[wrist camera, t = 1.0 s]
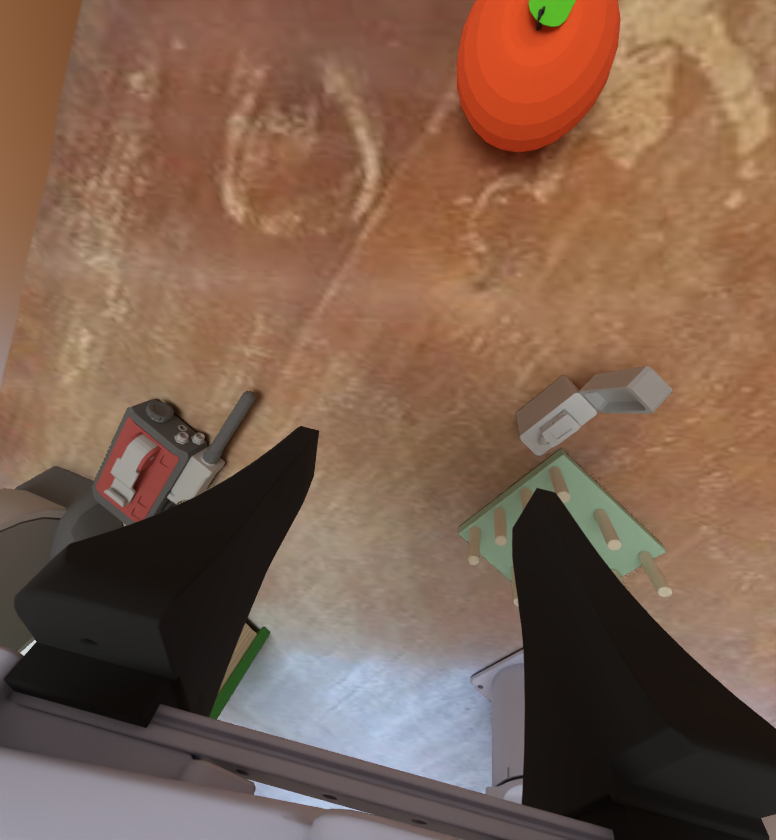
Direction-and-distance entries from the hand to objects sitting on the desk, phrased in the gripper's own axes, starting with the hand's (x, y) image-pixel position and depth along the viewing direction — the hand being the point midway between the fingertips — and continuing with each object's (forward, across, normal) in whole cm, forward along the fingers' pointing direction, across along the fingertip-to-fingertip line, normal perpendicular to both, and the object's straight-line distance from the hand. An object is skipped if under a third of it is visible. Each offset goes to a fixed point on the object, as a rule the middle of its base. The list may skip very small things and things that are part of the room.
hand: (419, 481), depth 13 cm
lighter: (+15, -9, +2) cm, 17 cm away
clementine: (+19, -1, -12) cm, 23 cm away
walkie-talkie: (+15, +20, +17) cm, 30 cm away
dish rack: (+12, -12, +13) cm, 21 cm away
